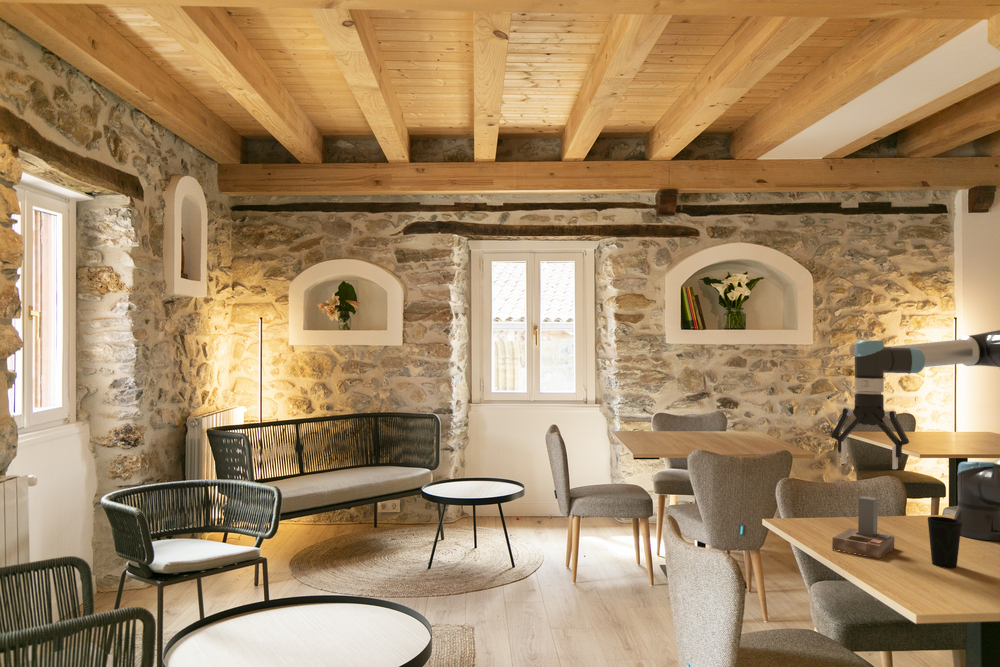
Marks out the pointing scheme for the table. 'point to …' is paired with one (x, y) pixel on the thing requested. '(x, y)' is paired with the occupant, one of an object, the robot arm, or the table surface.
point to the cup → (944, 541)
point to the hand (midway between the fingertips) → (869, 466)
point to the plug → (868, 516)
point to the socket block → (863, 543)
